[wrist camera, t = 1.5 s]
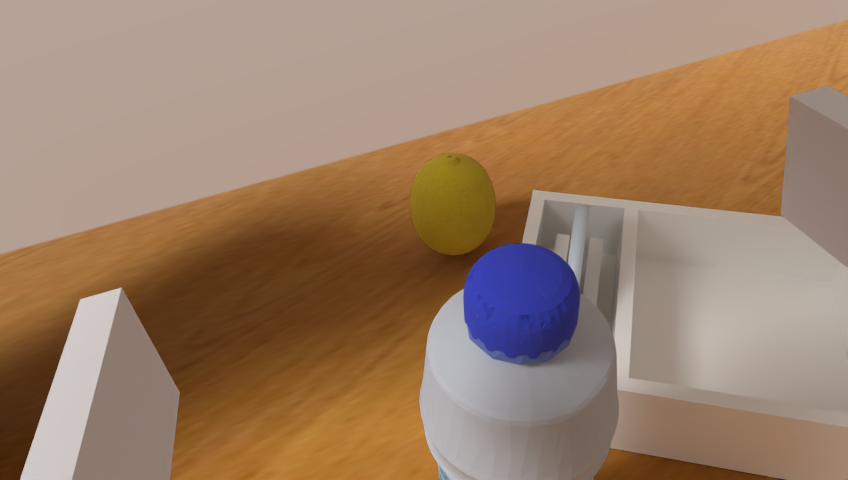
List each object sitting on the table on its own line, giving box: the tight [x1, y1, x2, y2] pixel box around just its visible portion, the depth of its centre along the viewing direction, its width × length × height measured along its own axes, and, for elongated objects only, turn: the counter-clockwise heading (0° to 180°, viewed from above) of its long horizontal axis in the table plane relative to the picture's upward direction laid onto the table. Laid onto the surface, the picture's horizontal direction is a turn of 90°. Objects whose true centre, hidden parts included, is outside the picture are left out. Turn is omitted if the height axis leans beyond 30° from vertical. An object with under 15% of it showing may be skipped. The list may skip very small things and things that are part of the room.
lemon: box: [410, 153, 496, 255], centre depth 47 cm, size 6×6×8 cm
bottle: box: [420, 243, 619, 480], centre depth 27 cm, size 7×7×20 cm
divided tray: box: [522, 190, 848, 480], centre depth 39 cm, size 19×14×9 cm
